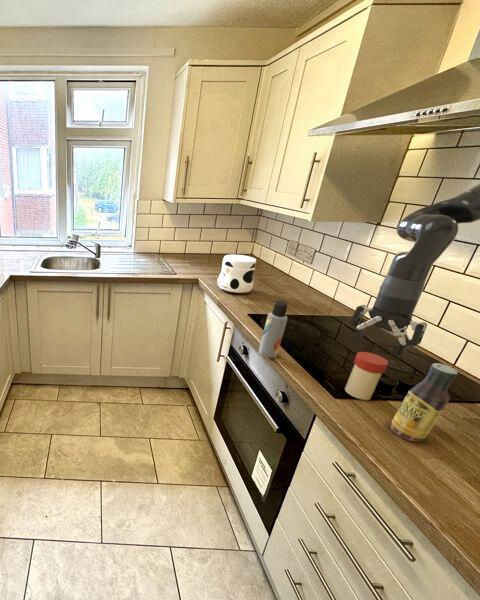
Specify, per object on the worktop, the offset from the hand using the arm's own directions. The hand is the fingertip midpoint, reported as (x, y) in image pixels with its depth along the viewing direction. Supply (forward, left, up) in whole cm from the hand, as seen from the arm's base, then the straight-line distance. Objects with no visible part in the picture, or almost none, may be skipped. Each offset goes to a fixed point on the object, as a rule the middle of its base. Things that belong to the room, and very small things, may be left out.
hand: (376, 348), depth 87 cm
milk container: (+2, -85, -15) cm, 86 cm away
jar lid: (0, 0, -4) cm, 4 cm away
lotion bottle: (+16, -20, -15) cm, 30 cm away
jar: (0, 0, -15) cm, 15 cm away
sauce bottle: (0, +16, -15) cm, 22 cm away
